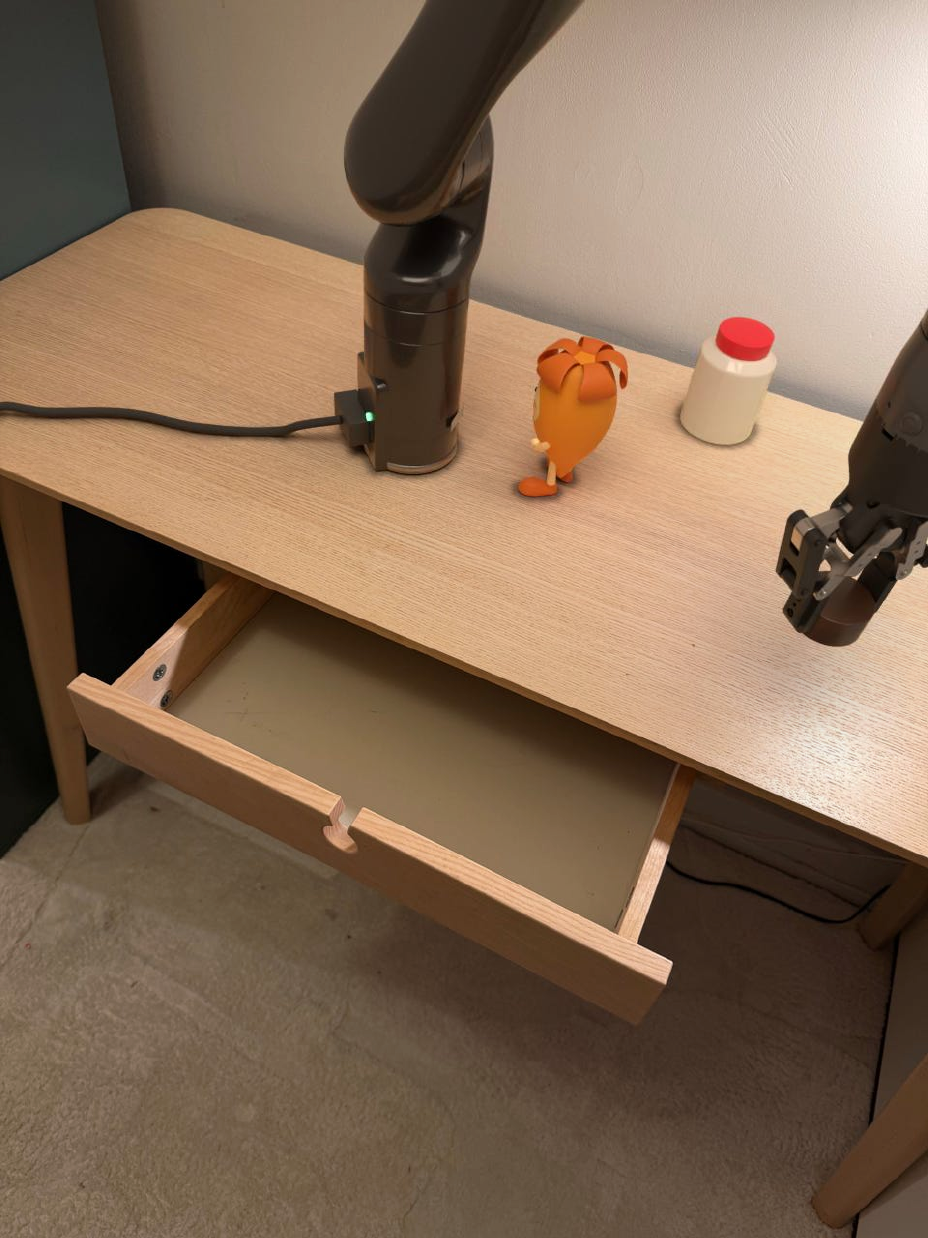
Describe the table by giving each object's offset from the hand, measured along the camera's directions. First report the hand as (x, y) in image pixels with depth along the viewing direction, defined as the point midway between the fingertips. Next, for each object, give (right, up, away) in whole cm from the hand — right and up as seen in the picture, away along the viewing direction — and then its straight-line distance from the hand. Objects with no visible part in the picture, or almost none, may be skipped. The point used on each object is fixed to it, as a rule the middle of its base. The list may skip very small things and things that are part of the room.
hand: (828, 613), depth 63 cm
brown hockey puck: (0, 0, 0) cm, 1 cm away
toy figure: (-16, +12, +26) cm, 33 cm away
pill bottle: (+2, +21, +35) cm, 41 cm away
